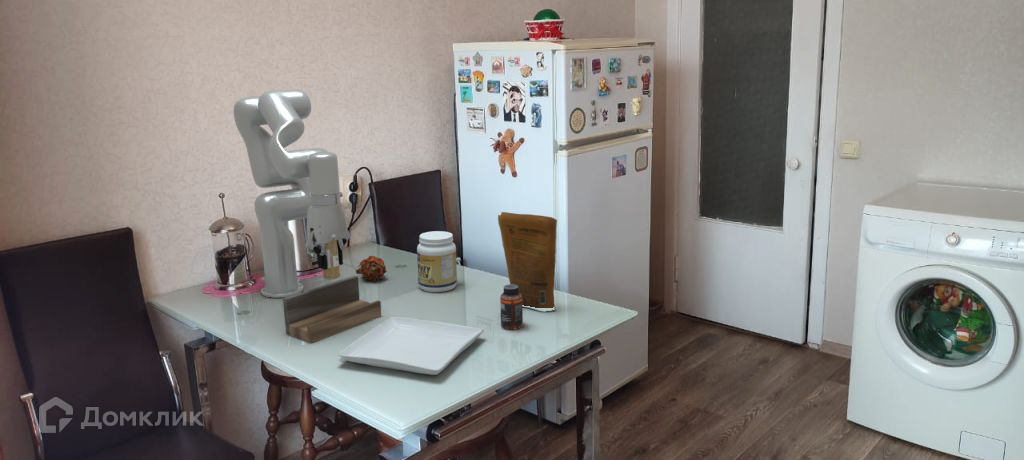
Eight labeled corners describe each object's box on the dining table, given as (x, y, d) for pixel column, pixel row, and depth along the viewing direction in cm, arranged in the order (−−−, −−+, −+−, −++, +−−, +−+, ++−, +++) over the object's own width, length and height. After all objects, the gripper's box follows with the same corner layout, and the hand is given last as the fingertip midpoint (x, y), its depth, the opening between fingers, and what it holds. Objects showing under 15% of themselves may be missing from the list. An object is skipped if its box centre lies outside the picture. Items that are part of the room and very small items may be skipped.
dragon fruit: (380, 289, 233) (363, 285, 243) (397, 269, 237) (380, 266, 246) (363, 271, 229) (346, 268, 239) (381, 251, 233) (363, 249, 242)
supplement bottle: (525, 323, 199) (525, 284, 197) (518, 331, 194) (518, 291, 191) (505, 321, 201) (504, 282, 198) (497, 328, 196) (496, 288, 193)
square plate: (440, 385, 165) (439, 369, 164) (336, 368, 174) (334, 353, 173) (485, 340, 190) (485, 326, 189) (392, 327, 199) (391, 314, 198)
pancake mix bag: (549, 317, 204) (550, 219, 197) (497, 303, 215) (495, 210, 208) (563, 310, 209) (564, 215, 202) (511, 296, 220) (510, 206, 213)
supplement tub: (410, 286, 231) (408, 234, 226) (441, 278, 238) (439, 228, 234) (433, 296, 222) (431, 242, 218) (465, 287, 230) (463, 234, 225)
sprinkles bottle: (342, 278, 196) (339, 229, 193) (326, 281, 194) (322, 232, 190) (336, 273, 200) (333, 226, 196) (320, 276, 197) (316, 228, 194)
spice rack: (286, 333, 194) (282, 298, 192) (356, 308, 212) (354, 275, 210) (310, 343, 188) (307, 306, 185) (381, 316, 206) (379, 282, 203)
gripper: (341, 192, 200) (346, 256, 205) (289, 203, 187) (295, 271, 192) (360, 195, 195) (364, 261, 200) (307, 207, 183) (313, 276, 187)
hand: (330, 265), depth 196 cm, fingers closed on sprinkles bottle, 4 cm apart
